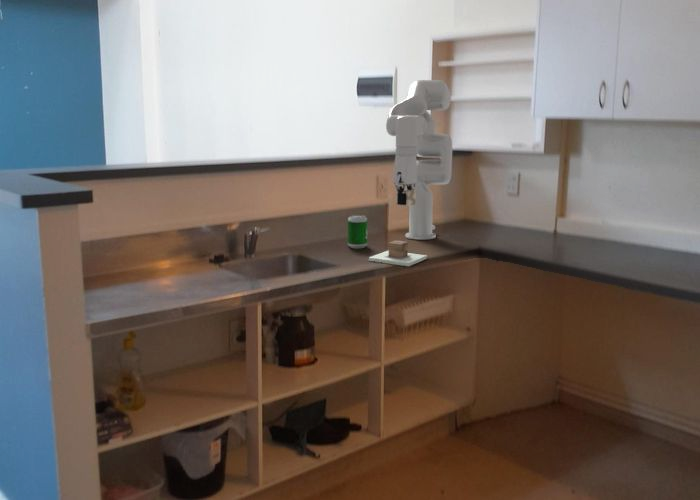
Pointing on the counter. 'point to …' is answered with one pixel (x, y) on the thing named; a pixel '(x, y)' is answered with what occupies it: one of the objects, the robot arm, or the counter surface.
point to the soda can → (357, 231)
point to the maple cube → (408, 197)
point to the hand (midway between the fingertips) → (405, 203)
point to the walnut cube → (398, 249)
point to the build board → (398, 259)
